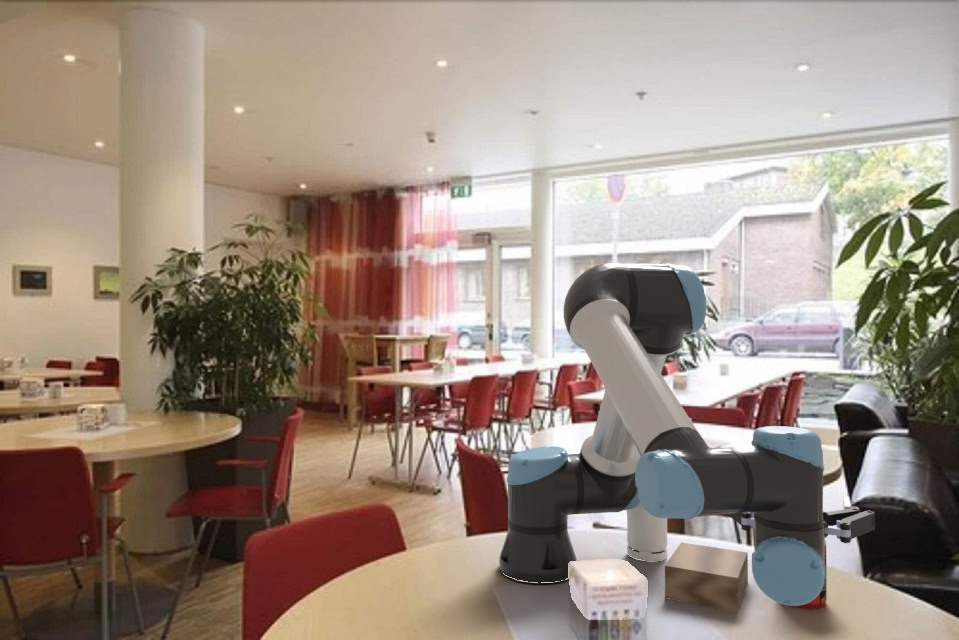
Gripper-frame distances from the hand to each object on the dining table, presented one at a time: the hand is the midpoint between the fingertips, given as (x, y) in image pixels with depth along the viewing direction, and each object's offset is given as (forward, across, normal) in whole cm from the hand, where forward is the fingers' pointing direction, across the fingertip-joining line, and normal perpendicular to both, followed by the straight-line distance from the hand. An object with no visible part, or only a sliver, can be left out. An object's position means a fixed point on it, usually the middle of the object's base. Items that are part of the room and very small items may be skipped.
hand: (797, 500), depth 105 cm
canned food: (+10, 0, -20) cm, 22 cm away
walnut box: (+7, -15, -20) cm, 26 cm away
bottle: (+20, -29, -20) cm, 40 cm away
